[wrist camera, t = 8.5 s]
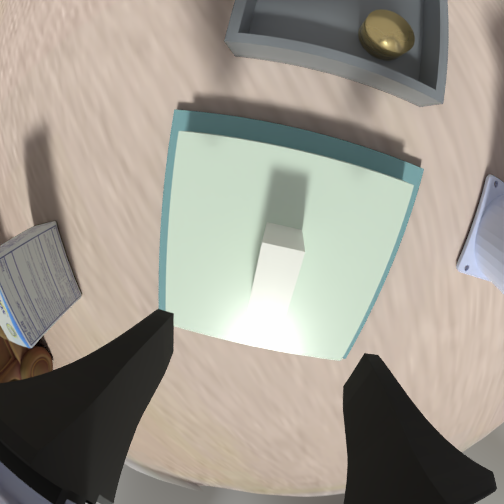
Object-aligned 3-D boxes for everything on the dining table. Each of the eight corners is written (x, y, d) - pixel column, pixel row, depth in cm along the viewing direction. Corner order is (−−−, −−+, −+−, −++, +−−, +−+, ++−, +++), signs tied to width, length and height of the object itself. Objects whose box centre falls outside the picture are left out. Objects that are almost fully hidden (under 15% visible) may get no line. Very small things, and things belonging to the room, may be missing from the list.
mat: (420, 168, 14) (423, 169, 14) (344, 354, 21) (345, 358, 21) (177, 110, 15) (174, 109, 15) (161, 314, 22) (158, 317, 21)
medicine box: (33, 225, 20) (-29, 262, 12) (58, 219, 20) (-13, 260, 12) (58, 294, 23) (8, 342, 15) (84, 296, 23) (30, 351, 15)
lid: (402, 179, 15) (439, 197, 10) (338, 345, 20) (345, 391, 16) (189, 131, 15) (153, 131, 11) (174, 310, 21) (150, 350, 16)
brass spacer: (403, 31, 10) (415, 22, 9) (400, 67, 12) (412, 60, 10) (360, 14, 11) (368, 2, 9) (355, 50, 12) (363, 41, 10)
